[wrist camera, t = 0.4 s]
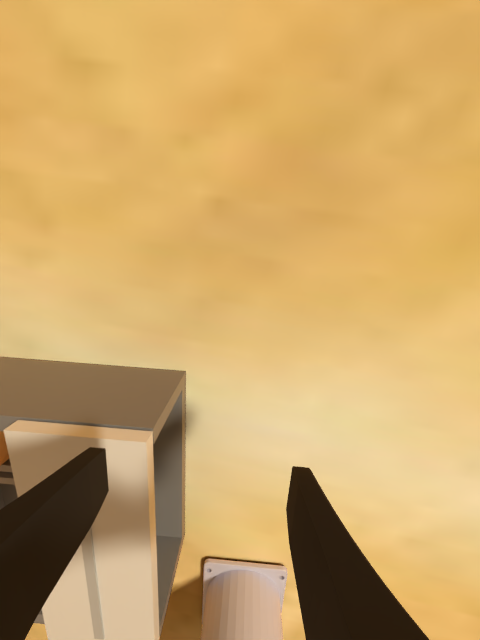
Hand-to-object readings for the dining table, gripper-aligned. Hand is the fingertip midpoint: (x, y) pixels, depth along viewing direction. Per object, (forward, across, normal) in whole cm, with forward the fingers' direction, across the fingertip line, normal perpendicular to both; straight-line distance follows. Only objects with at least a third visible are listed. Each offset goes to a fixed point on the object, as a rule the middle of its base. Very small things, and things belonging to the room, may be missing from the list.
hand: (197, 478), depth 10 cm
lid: (+3, +7, +9) cm, 12 cm away
